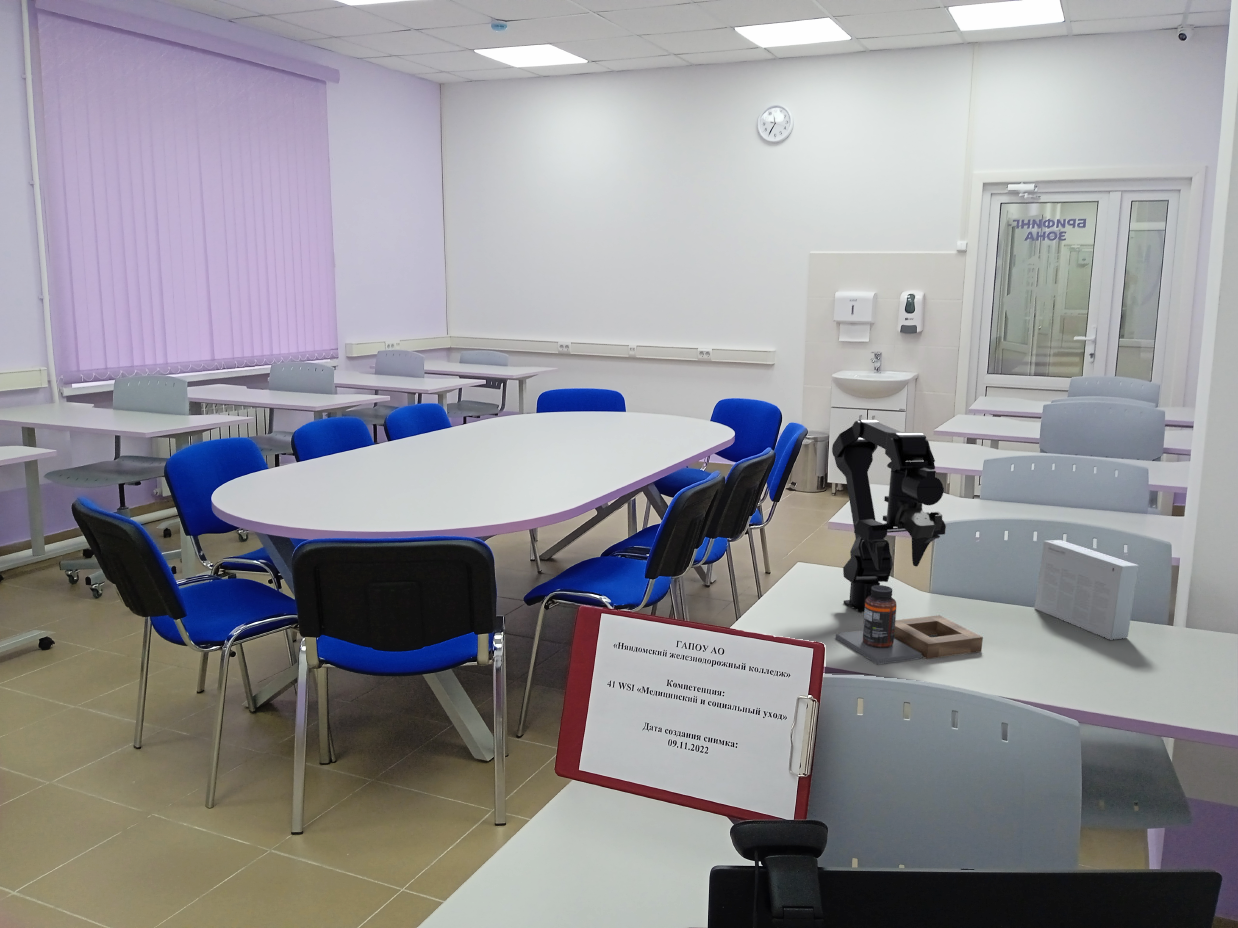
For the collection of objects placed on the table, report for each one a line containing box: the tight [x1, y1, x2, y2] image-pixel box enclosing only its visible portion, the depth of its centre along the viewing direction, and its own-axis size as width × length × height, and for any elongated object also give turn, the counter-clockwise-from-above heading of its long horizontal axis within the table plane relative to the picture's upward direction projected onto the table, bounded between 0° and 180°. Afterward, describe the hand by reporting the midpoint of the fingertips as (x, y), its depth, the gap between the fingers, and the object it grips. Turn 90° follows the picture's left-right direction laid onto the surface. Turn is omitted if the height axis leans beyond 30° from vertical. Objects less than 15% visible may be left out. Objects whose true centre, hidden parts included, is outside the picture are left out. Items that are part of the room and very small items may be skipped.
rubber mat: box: [835, 629, 922, 665], centre depth 192 cm, size 14×10×1 cm
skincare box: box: [1034, 539, 1140, 641], centre depth 209 cm, size 21×5×16 cm, turn 22°
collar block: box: [894, 614, 984, 660], centre depth 196 cm, size 13×13×3 cm
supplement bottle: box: [862, 584, 897, 648], centre depth 191 cm, size 6×6×11 cm
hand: (896, 567), depth 202 cm, fingers open, 9 cm apart
